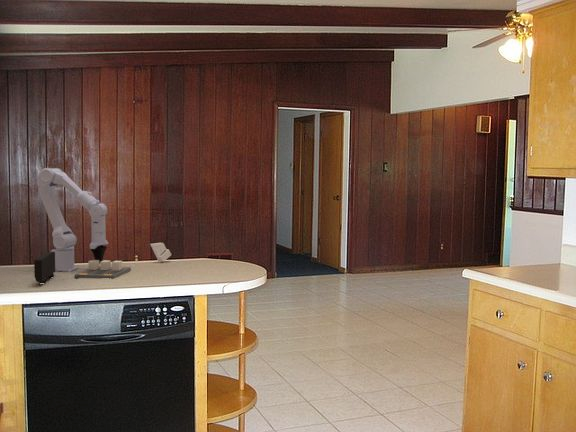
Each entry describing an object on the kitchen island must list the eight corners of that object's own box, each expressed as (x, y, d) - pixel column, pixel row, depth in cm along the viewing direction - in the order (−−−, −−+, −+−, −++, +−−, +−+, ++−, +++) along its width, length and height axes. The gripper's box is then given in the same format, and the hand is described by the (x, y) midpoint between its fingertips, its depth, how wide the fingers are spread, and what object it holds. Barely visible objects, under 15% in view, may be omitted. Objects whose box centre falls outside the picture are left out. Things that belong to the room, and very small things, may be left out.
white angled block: (150, 262, 268) (149, 244, 268) (166, 259, 276) (166, 242, 275) (155, 263, 266) (155, 244, 265) (171, 260, 274) (171, 242, 273)
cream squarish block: (112, 270, 236) (111, 262, 236) (115, 268, 240) (115, 260, 240) (119, 270, 236) (119, 262, 236) (122, 269, 240) (122, 260, 240)
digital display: (47, 275, 232) (47, 251, 231) (56, 275, 232) (55, 251, 232) (33, 286, 211) (32, 259, 210) (42, 286, 212) (42, 259, 211)
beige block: (88, 269, 237) (88, 261, 237) (92, 268, 241) (92, 259, 241) (95, 270, 237) (95, 261, 236) (99, 268, 241) (99, 260, 240)
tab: (100, 270, 237) (100, 261, 236) (103, 268, 241) (103, 260, 240) (107, 270, 236) (107, 262, 236) (110, 268, 240) (110, 260, 240)
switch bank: (74, 278, 227) (74, 274, 227) (94, 269, 247) (94, 265, 247) (113, 279, 226) (113, 275, 226) (130, 270, 246) (130, 266, 246)
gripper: (101, 234, 235) (101, 266, 237) (113, 230, 250) (114, 260, 251) (84, 233, 236) (84, 266, 237) (98, 229, 250) (98, 260, 251)
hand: (98, 263), depth 244 cm, fingers closed
